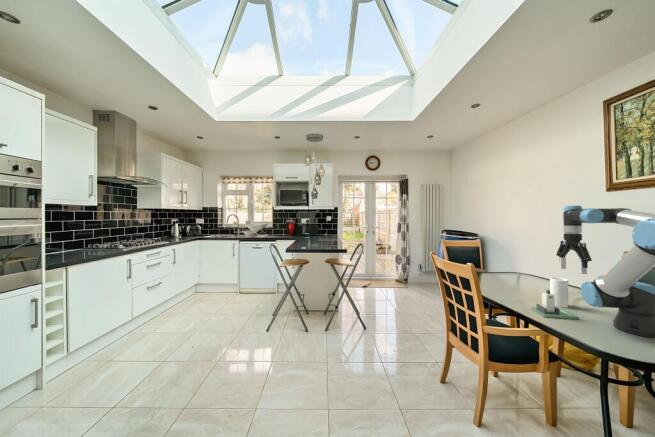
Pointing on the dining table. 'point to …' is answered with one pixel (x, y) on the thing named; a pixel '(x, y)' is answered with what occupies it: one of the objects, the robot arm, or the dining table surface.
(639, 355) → the dining table surface
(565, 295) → the cup
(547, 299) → the plug
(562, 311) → the header board
